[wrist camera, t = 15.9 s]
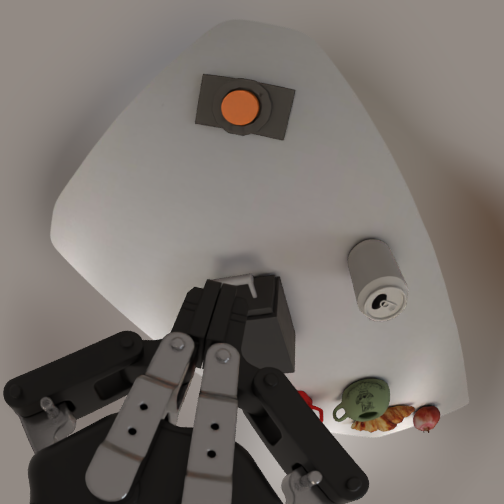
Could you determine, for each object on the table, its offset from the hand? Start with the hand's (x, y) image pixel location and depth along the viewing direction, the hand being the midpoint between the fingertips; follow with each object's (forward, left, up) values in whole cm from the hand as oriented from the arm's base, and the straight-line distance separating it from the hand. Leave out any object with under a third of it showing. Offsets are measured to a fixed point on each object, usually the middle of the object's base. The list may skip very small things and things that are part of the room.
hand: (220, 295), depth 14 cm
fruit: (+68, -61, -29) cm, 96 cm away
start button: (-4, +6, -26) cm, 27 cm away
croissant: (+52, -64, -29) cm, 87 cm away
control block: (-4, +6, -29) cm, 30 cm away
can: (+20, -12, -29) cm, 37 cm away
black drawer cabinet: (+4, -29, -29) cm, 41 cm away
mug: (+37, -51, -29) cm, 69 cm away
